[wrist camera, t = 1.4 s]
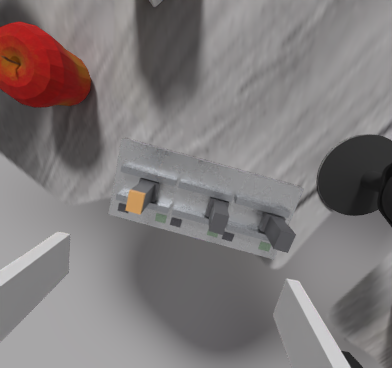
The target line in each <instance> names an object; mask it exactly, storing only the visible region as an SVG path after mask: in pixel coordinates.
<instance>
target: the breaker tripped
mask: <svg viewBox="0 0 392 368" xmlns="http://www.w3.org/2000/svg"><path fill="white" fill-rule="evenodd" d="M159 187H160V183H159V182H156V181H152V180H148V179H145V178H140V179H139V183H138V184H137V185H136V186H135V187H133V188H132V189H131V190H129V194H128V200H127V205H126V210H125V211H129V212H133V213H136V214H141V213H142V212H143V211H144V209H145V208H146V207H147V206H148V204H149V203H150V202H151V201H153V202H155V201H156V199H157V196H158V191H159Z"/></svg>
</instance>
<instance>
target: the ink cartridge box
mask: <svg viewBox="0 0 392 368" xmlns="http://www.w3.org/2000/svg"><path fill="white" fill-rule="evenodd" d="M149 1H150V3H151V4H152V6H153V7H156V6H157V5H158V4H159V3H161V2H162V1H163V0H149Z"/></svg>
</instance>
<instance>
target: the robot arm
mask: <svg viewBox="0 0 392 368" xmlns="http://www.w3.org/2000/svg"><path fill="white" fill-rule="evenodd" d="M69 250H70V234H67V233H62V232H56V233H55V234H53V235H52V236H51V237H49V238H47V239H46V240H44V241H43V242H41V243H40V244H38V245H37V246H36V247H34V248H33V249H31V250H29V251H28V252H27V253H25V254H24V255H22V256H21V257H19V258H18V259H16V260H15V261H13V262H12V263H10V264H9V265H7V266H6V267H4V268H3V269H1V270H0V342H1V341H2V340H3V339H4V338H5V337H6V336H7V335H8V334H9V333H10V332H11V331H12V330H13V329H14V328H15V327H16V326H17V325H18V324H19V323H20V322H21V321H22V320H23V319H24V318H25V317H26V316H27V315H28V314H29V313H30V312H31V311H32V310H33V309H34V308H35V307H36V306H37V305H38V304H39V303H40V301H42V299H43V298H44V297H45V296H46V295H47V294H48V293H49V292H50V291H51V290H52V289H53V288H54V287H55V286H56V285H57V284H58V283H59V282H60V281H61V280H62V279H63V278H64V277H65V276H66V275H67V274H68V273H69ZM273 317H274V319H275V322H276V325H277V328H278V331H279V334H280V336H281V339H282V342H283V345H284V348H285V351H286V354H287V357H288V359H289V362H290V365H291V368H363V367H362V366H361V365H360V364H359V362H358V361H357V360H356V359H354V357H353V356H352V355H351V354H350V353H349V352H344V351H341V350H340V349H339V347H338V345H337V344H336V342H335V340H334V339H333V337H332V335H331V334H330V332H329V331H328V329H327V327H326V326H325V324H324V322H323V320H322V319H321V317H320V315H319V314H318V312H317V310H316V309H315V307H314V305H313V304H312V302H311V300H310V299H309V297H308V295H307V294H306V292H305V290H304V289H303V287H302V286H301V284H300V282H299V281H296V280H291V279H286V280H285V283H284V286H283V289H282V291H281V294H280V297H279V300H278V302H277V305H276V308H275V311H274V314H273Z"/></svg>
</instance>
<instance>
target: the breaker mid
mask: <svg viewBox="0 0 392 368" xmlns="http://www.w3.org/2000/svg"><path fill="white" fill-rule="evenodd" d="M229 204H230V203H229V202H228V201H225V200H221V199H217V198H214V197H210V199H209V202H208V205H207V209H206V212H205V216H208V217H209V231H210V232H214V233H217V234H221V235H223V234H224V231H225V228H226V225H227V222H228V219H229V213H228V207H229Z"/></svg>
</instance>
